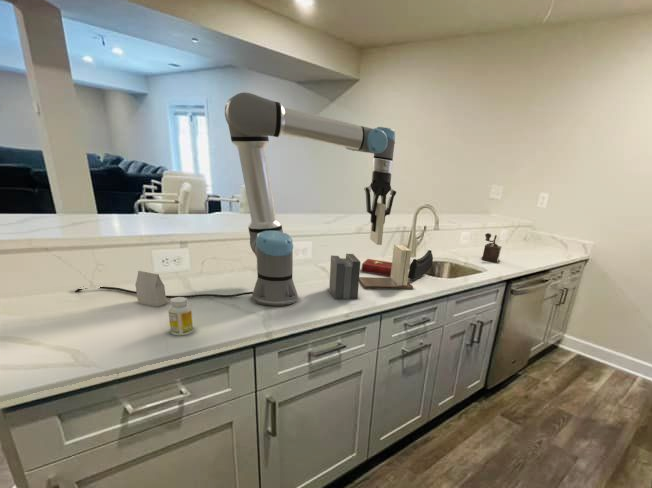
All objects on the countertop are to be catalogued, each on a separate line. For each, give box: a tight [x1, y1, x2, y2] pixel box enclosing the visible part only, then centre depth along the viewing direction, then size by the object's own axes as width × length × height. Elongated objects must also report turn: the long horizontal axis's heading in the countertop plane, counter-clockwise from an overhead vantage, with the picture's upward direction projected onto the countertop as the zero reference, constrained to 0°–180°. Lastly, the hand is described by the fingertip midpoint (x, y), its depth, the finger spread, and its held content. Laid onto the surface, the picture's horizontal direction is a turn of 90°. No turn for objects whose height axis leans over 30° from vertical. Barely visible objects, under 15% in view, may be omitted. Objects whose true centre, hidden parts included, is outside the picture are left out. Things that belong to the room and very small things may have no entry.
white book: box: [369, 200, 387, 246], centre depth 159 cm, size 2×11×16 cm, turn 22°
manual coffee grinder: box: [481, 232, 502, 264], centre depth 250 cm, size 16×11×18 cm
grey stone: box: [134, 270, 167, 307], centre depth 119 cm, size 4×7×10 cm, turn 79°
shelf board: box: [359, 276, 414, 290], centre depth 173 cm, size 22×13×1 cm, turn 112°
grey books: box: [328, 253, 361, 300], centre depth 151 cm, size 9×12×15 cm
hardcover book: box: [361, 258, 392, 277], centre depth 191 cm, size 12×21×4 cm, turn 84°
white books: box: [389, 243, 412, 286], centre depth 172 cm, size 4×11×16 cm, turn 22°
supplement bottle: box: [167, 297, 194, 336], centre depth 105 cm, size 5×5×10 cm
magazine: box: [408, 249, 434, 280], centre depth 193 cm, size 17×3×30 cm
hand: (376, 231), depth 160 cm, fingers closed on white book, 2 cm apart
